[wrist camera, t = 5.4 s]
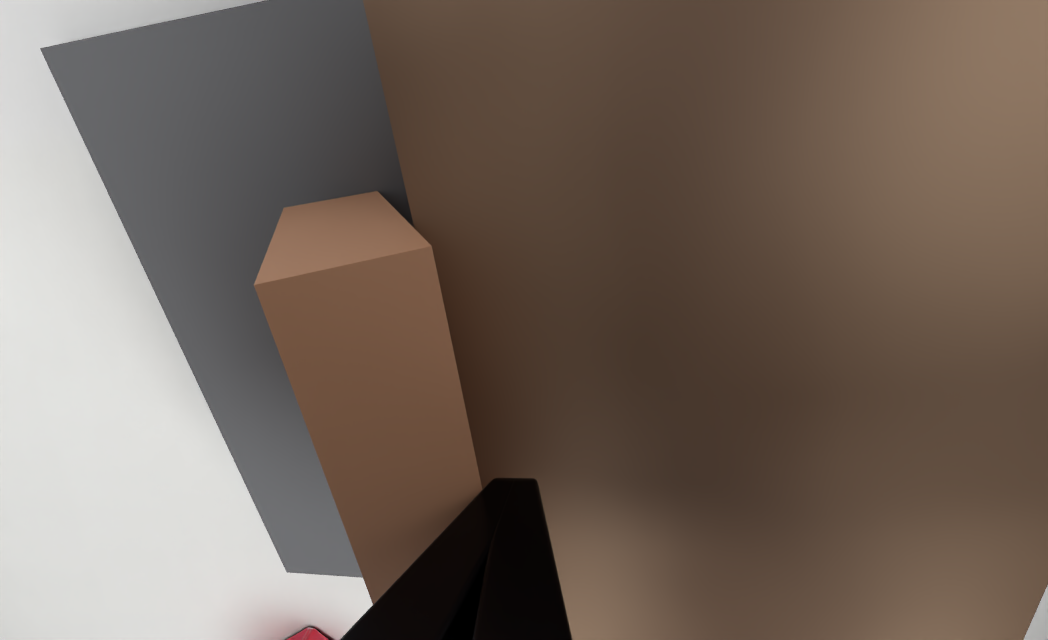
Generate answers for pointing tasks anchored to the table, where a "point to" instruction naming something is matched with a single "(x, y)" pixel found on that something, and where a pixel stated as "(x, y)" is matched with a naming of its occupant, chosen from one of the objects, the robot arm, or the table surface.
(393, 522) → the light orange block
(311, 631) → the ink box
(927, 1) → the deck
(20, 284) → the table surface
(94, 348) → the table surface
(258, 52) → the mat
